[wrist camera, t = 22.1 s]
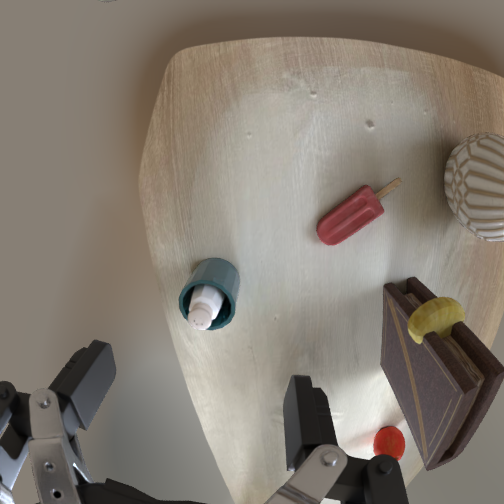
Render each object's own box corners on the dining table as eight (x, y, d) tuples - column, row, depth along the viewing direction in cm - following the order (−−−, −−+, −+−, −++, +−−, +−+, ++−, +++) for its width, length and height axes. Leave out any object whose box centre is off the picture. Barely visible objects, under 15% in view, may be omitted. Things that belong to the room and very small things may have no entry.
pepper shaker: (199, 297, 42) (180, 339, 32) (193, 264, 41) (171, 300, 30) (234, 296, 42) (225, 340, 32) (230, 263, 40) (219, 299, 30)
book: (412, 360, 46) (464, 454, 23) (374, 372, 47) (415, 476, 24) (421, 259, 40) (521, 345, 16) (376, 270, 41) (464, 376, 17)
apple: (367, 442, 56) (376, 473, 46) (372, 426, 54) (382, 460, 43) (395, 435, 55) (406, 464, 45) (402, 418, 53) (415, 449, 43)
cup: (186, 289, 43) (171, 315, 35) (203, 249, 41) (190, 270, 33) (228, 308, 44) (221, 338, 36) (248, 270, 41) (244, 296, 34)
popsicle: (410, 192, 35) (329, 252, 38) (405, 191, 36) (327, 248, 40) (395, 165, 34) (311, 227, 37) (390, 165, 35) (309, 224, 39)
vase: (471, 242, 38) (548, 287, 19) (414, 198, 37) (505, 234, 18) (501, 166, 33) (580, 184, 14) (447, 114, 32) (538, 105, 13)
